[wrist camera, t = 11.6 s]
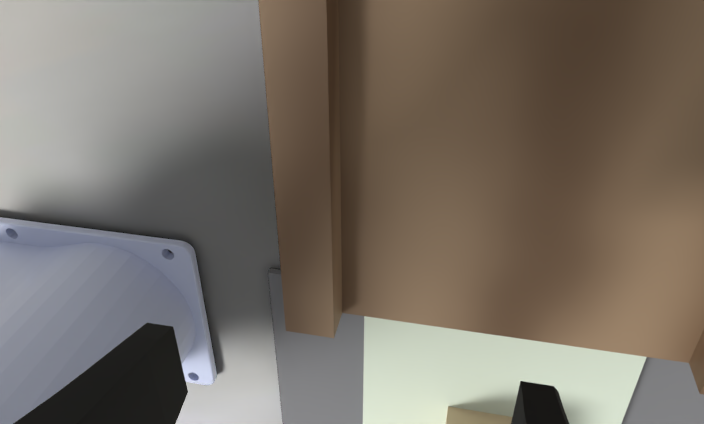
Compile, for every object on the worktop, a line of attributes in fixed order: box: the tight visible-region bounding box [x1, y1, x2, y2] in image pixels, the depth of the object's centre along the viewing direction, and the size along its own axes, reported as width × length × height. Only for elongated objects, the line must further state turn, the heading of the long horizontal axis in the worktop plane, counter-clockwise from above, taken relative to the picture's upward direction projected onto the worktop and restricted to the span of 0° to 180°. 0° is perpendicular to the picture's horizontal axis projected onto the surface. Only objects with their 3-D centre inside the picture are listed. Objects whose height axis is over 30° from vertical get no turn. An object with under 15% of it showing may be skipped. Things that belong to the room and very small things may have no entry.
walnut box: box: [258, 0, 704, 395], centre depth 15 cm, size 14×16×4 cm
